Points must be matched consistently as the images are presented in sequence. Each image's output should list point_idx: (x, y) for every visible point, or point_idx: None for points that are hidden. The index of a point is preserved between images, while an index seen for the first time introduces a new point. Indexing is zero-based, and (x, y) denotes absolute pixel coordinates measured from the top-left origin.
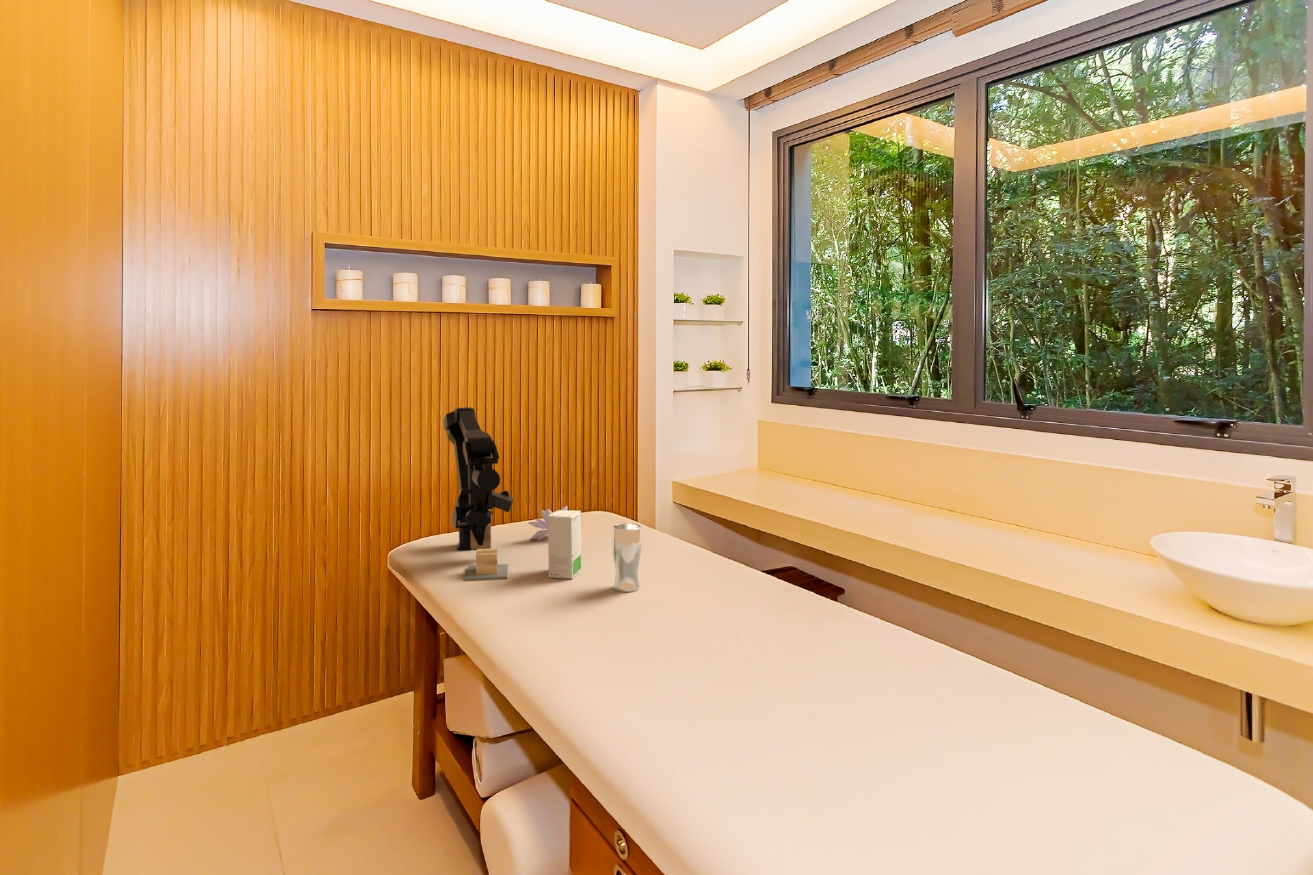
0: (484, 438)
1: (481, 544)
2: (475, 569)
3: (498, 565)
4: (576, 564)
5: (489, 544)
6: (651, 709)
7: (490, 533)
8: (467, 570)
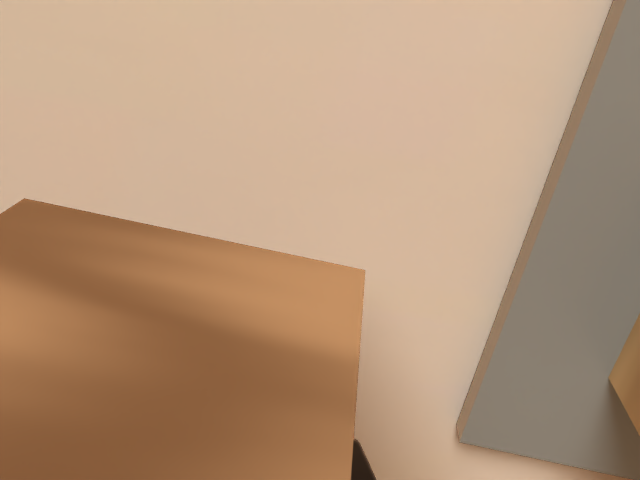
0: None
1: (357, 461)
2: None
3: (629, 130)
4: None
5: (358, 327)
6: None
7: (214, 438)
8: (623, 470)
